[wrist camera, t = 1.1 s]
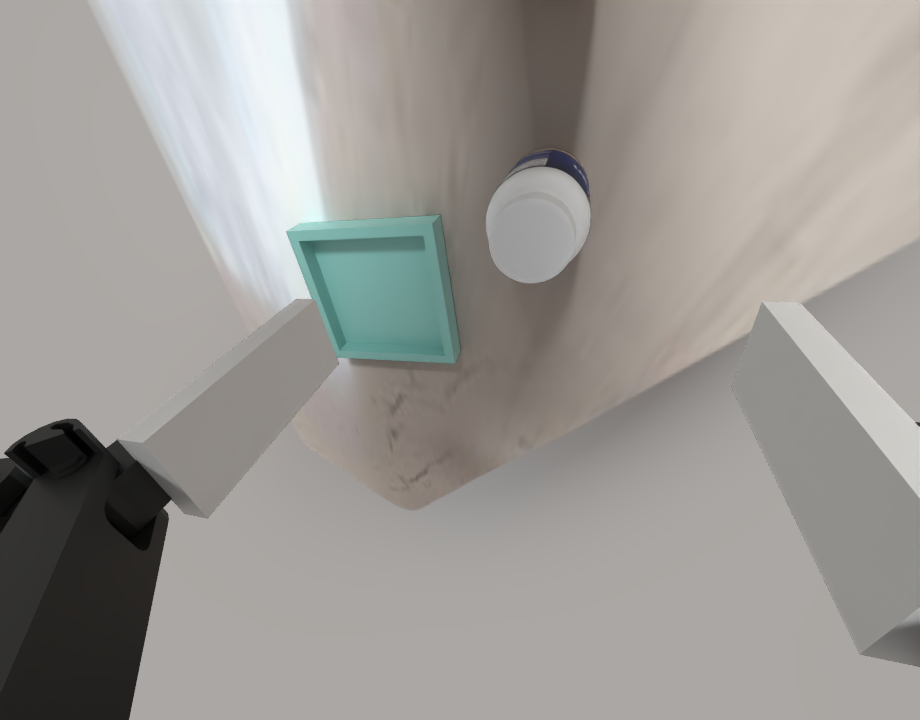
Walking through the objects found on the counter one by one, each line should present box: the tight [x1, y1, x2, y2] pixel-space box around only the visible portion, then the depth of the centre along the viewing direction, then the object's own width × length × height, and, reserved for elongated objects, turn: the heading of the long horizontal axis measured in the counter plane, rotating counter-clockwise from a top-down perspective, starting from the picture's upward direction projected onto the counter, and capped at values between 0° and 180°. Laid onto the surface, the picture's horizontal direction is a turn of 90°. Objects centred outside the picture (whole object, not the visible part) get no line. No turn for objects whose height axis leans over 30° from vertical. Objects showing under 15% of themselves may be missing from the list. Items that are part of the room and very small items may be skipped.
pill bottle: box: [486, 148, 591, 283], centre depth 21 cm, size 5×5×10 cm
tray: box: [286, 215, 461, 364], centre depth 32 cm, size 12×12×2 cm
